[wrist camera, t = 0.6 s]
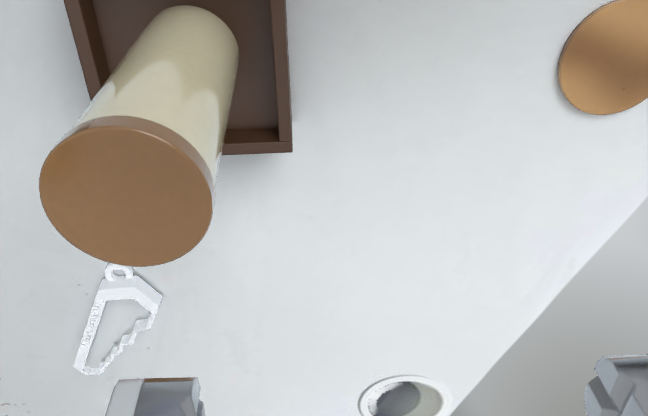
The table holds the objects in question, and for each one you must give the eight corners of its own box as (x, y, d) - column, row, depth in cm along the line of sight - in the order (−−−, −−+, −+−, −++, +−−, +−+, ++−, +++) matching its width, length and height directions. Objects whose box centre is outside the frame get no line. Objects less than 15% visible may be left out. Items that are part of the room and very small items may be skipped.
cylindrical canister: (129, 4, 31) (13, 130, 18) (235, 1, 31) (200, 123, 18) (149, 103, 34) (65, 271, 21) (245, 100, 35) (221, 263, 21)
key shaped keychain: (130, 371, 52) (126, 386, 50) (76, 358, 50) (70, 373, 49) (170, 275, 45) (166, 289, 44) (109, 257, 44) (103, 271, 43)
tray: (79, -56, 31) (51, -42, 28) (282, -61, 32) (282, -48, 28) (124, 128, 38) (106, 160, 34) (291, 122, 38) (292, 152, 35)
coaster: (573, -2, 35) (576, -1, 34) (696, -6, 35) (700, -4, 35) (546, 114, 39) (548, 117, 39) (655, 110, 40) (658, 112, 39)
